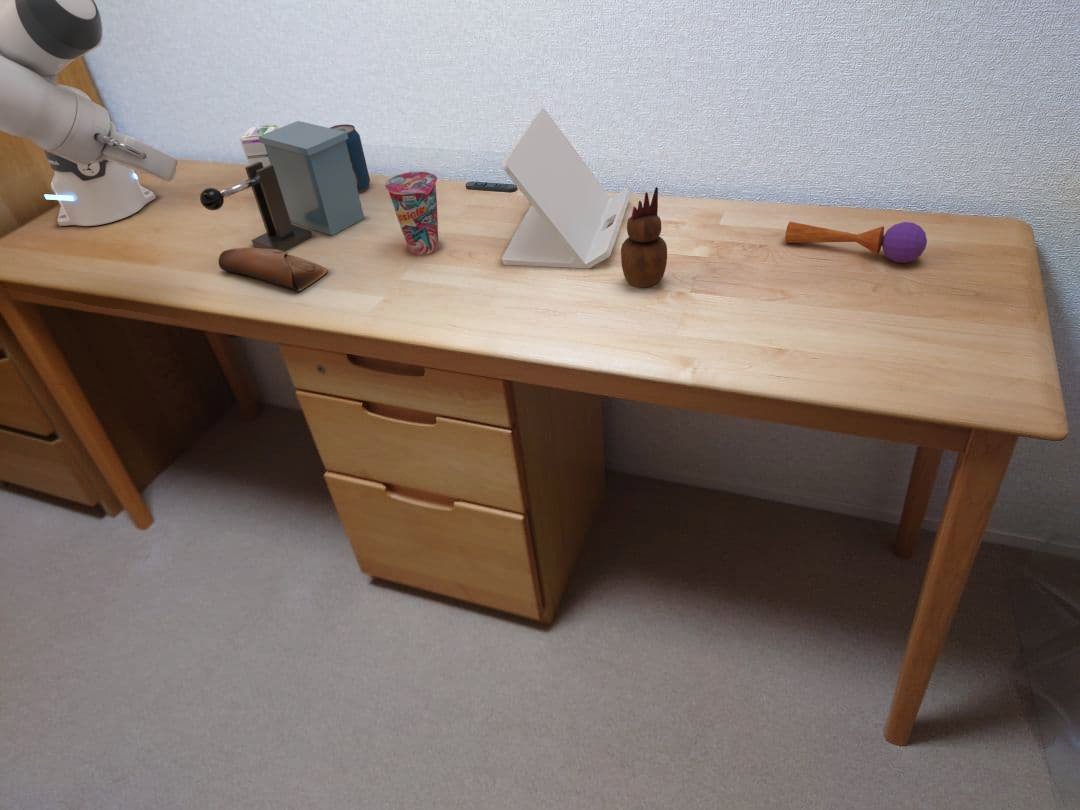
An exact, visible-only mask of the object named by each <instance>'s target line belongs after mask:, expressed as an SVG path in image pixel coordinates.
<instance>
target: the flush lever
mask: <svg viewBox="0 0 1080 810" xmlns="http://www.w3.org/2000/svg"><path fill="white" fill-rule="evenodd" d="M259 183H260V182H259V178H258V175H257V172H256V174H255V177H253V178H251V179H249V178H248V179H247V180H243V181H241V182H238V183H237V184H235V185H232V186H229V187H227V188H225V189H222V190H219V189H217V188H215V187H207V188H204V189H203V190H202V191H201V193H200V195H199V201H200V204H201V205H202V207H203V208H205V209H206V210H208V211H218V210H220V209H221V208H222V207H223V205H224V203H225V199H226V198H228V197H230V196H233V195H236V194H238V193H240V192H242V191H244V190H248V189H249V188H252V186H254V185H256V184H259Z"/></svg>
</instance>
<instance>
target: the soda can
mask: <svg viewBox="0 0 1080 810" xmlns="http://www.w3.org/2000/svg"><path fill="white" fill-rule="evenodd" d="M329 128H331V129H336V130H340V131H344V132H347V135H348V139H346V144H347V148H348V153H349V157H350V161H351V165H352V169H353V173H354V177H355V181H356V185H357V189H358V194H360V193H363V192H365V191H366V190H368V188H369V185H370V182H371V178H370V173H369V169H368V166H367V165H368V164H367V161H366V157H365V156H366V155H365V151H364V148H363V144H362V139H361V135H360V133H359V132H358V131H357V130H356V127H355V126H354V125H352V124H347V123H346V124H337V125H333V126H331V127H329Z"/></svg>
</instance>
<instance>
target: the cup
mask: <svg viewBox="0 0 1080 810" xmlns="http://www.w3.org/2000/svg"><path fill="white" fill-rule="evenodd" d="M437 177H438V176H436V175H435V174H434V173H431V172H428V171H409V172H404V173H401V174H398V175H395V176H393V177H391V178H390V179H388V180H387V181H386V182H385V189H386V190H387V191H388V194H389V197H390V200H391V203H392V207H393V209H394V212H395V215H396V219H397V221H398V223H399V227H400V229H401V232H402V235H403V237H404V239H405V243H406V245H407V248H408V251H409V252H410V254H412V255H416V256H425V255H430V254H432V253H434V252H436V251H437V250H438V249H439V246H440V245H439V244H440V242H439V221H438V220H439V218H438V217H439V216H438V200H437V184H436V183H437V181H438V178H437Z"/></svg>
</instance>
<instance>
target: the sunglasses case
mask: <svg viewBox="0 0 1080 810" xmlns="http://www.w3.org/2000/svg"><path fill="white" fill-rule="evenodd" d="M218 266H219V268H220V270H222V271H226V272H229V273H235V274H240V275H247V276H248V277H252V278H255V279H259V280H263V281H266V282H269V283H273V284H276V285H280V286H282V287H286V288H289V289H293V290H296V291H298V292H302V291H304V290H305V289H307V288H309V287H311V286H312V285H314V284H315V283H316V282H318V281H319V280H321V278H323V277H324V276H325V275H327V273H328V271H329V270H328V269H327V268H326V267H324V266H322V265H321V264H318V263H316V262H312V261H310V260H307V259H304V258H301V257H298V256H295V255H291V254H289V253H288V252H287V251H281V250H276V249H265V248H258V247H237V248H230V249H226V250H223V251H222V252H221V253H220V254H219V257H218Z"/></svg>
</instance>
